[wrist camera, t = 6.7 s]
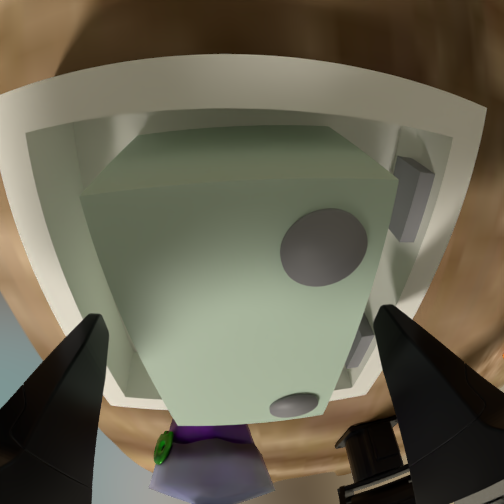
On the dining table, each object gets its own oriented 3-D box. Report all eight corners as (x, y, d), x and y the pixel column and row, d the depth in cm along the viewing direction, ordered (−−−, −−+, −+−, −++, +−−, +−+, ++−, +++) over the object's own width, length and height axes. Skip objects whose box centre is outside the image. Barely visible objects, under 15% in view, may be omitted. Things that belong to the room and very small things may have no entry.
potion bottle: (150, 377, 18) (141, 556, 8) (279, 385, 19) (307, 552, 9) (156, 424, 22) (154, 549, 13) (253, 429, 24) (267, 549, 14)
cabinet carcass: (348, 344, 17) (365, 394, 14) (121, 351, 16) (110, 405, 13) (421, 86, 9) (487, 108, 6) (51, 81, 7) (-12, 99, 5)
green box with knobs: (302, 334, 15) (323, 417, 11) (182, 343, 14) (177, 428, 11) (328, 126, 9) (402, 182, 5) (137, 135, 8) (76, 200, 5)
